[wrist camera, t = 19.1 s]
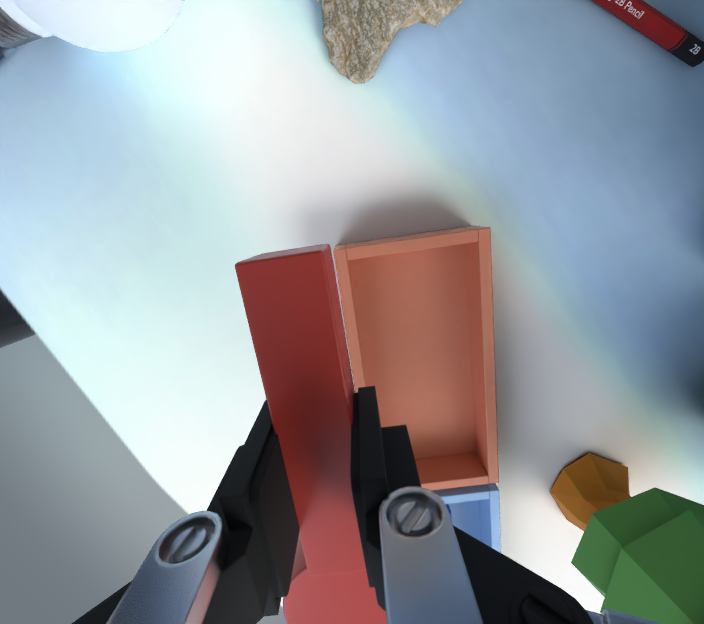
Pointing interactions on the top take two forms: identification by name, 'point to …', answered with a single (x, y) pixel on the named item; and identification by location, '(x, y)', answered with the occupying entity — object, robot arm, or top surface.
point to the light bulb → (87, 22)
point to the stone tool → (372, 29)
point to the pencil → (657, 28)
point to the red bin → (427, 345)
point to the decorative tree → (635, 542)
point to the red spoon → (311, 427)
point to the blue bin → (475, 511)
